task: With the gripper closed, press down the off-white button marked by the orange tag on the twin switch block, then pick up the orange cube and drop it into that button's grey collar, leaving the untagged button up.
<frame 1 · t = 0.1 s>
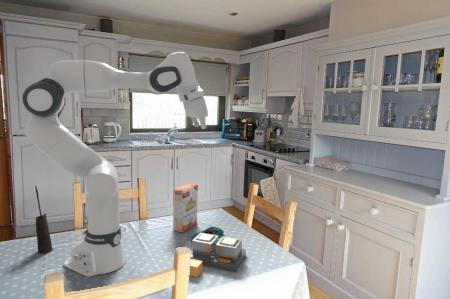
hand: (200, 127, 124), 52 cm above the table, tool tilted 20°, fingers open, 8 cm apart
breaker tagged: (229, 244, 122), point 7 cm above the table, slide at 0.0 cm
cracker box: (185, 227, 156), on the table
twin switch block: (217, 258, 125), on the table
digital multimeter: (207, 238, 145), on the table
orange cube: (194, 273, 114), on the table
butter churn: (46, 249, 130), on the table
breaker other: (205, 240, 126), point 7 cm above the table, slide at 0.0 cm
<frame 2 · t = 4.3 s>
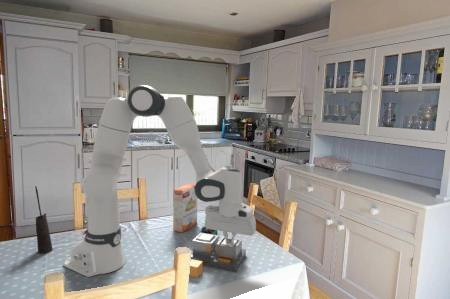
hand: (229, 241, 122), 8 cm above the table, tool pointing down, fingers closed, pressing on breaker tagged
breaker tagged: (229, 245, 122), point 6 cm above the table, slide at 0.5 cm, touching gripper
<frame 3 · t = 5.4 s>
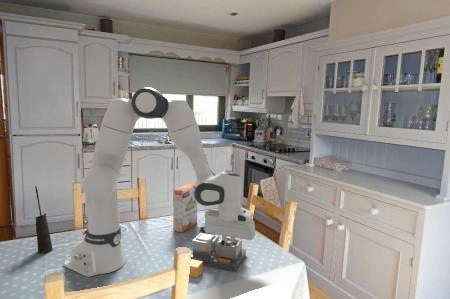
hand: (228, 246, 122), 6 cm above the table, tool pointing down, fingers closed
breaker tagged: (229, 250, 123), point 4 cm above the table, slide at 2.5 cm
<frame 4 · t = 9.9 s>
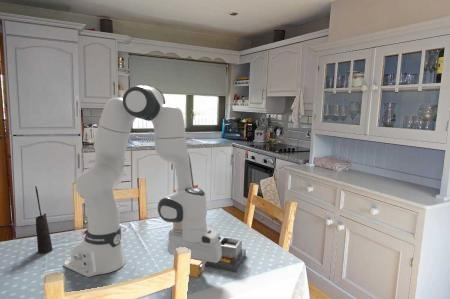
hand: (194, 268, 114), 2 cm above the table, tool pointing down, fingers closed on orange cube, 4 cm apart
orange cube: (194, 272, 114), on the table, touching gripper
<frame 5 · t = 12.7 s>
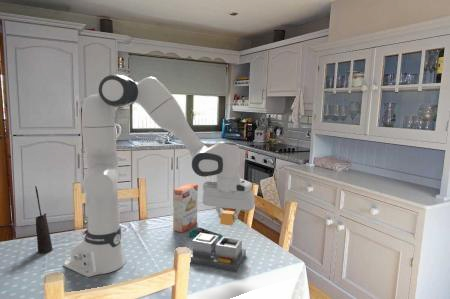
hand: (228, 218, 120), 18 cm above the table, tool pointing down, fingers closed on orange cube, 4 cm apart
orange cube: (227, 222, 120), point 16 cm above the table, touching gripper
when the fingers open (9 cm above the table, at t = 15.2 s): orange cube drops 2 cm, point 6 cm above the table.
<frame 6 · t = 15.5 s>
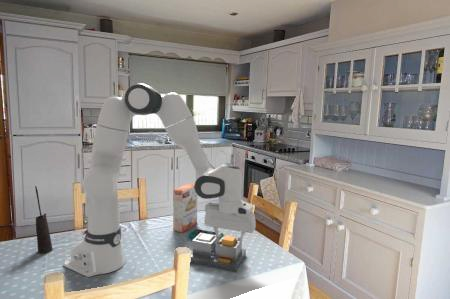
hand: (229, 239, 122), 9 cm above the table, tool pointing down, fingers open, 8 cm apart
orange cube: (228, 247, 122), point 6 cm above the table
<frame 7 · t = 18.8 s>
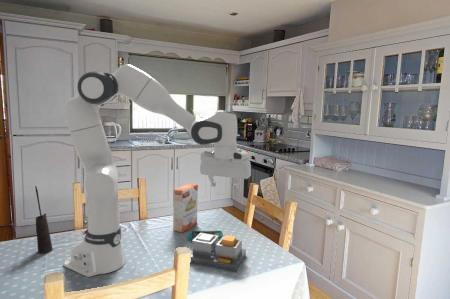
hand: (224, 187, 122), 29 cm above the table, tool pointing down, fingers open, 8 cm apart
breaker tagged: (229, 251, 123), point 4 cm above the table, slide at 2.7 cm, touching orange cube
orange cube: (228, 247, 122), point 6 cm above the table, touching breaker tagged
at the end: breaker tagged slide at 2.7 cm; orange cube 0.2 cm from the target spot on the twin switch block, point 5.6 cm above the twin switch block's base; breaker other slide at 0.0 cm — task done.
